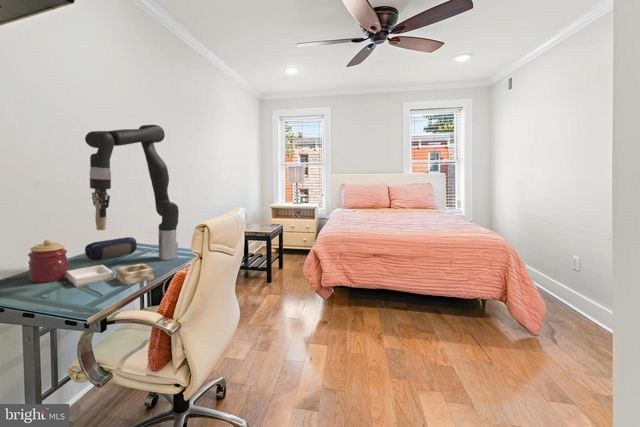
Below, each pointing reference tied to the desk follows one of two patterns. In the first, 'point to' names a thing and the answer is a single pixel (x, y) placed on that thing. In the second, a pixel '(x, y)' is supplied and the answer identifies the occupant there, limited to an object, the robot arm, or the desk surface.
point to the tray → (89, 275)
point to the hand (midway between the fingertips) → (100, 216)
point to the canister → (47, 262)
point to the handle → (99, 220)
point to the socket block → (134, 273)
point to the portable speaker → (110, 248)
